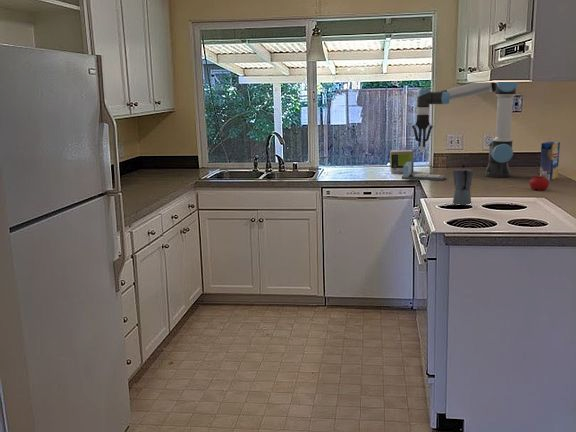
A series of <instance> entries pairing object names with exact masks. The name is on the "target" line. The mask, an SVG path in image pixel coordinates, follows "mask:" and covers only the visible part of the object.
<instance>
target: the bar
mask: <svg viewBox="0 0 576 432" xmlns="http://www.w3.org/2000/svg"><path fill="white" fill-rule="evenodd" d="M411 173H412V174H414V172H413V161H407V162H406V164H405V165H403V173H402V176H403V177H409V175H410V174H411Z"/></svg>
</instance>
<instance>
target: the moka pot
mask: <svg viewBox="0 0 576 432" xmlns="http://www.w3.org/2000/svg"><path fill="white" fill-rule="evenodd" d="M452 171H453V172H452V173H453V185H454V193H453V199H452V204H453V203H454V204H460V205H466V204H470V203H471V204H472V196H471V186H472V180H473V174H474V169H470V168H467V167H466V164H462V165H461V168H454V169H453V170H452Z"/></svg>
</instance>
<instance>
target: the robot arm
mask: <svg viewBox="0 0 576 432" xmlns="http://www.w3.org/2000/svg"><path fill="white" fill-rule="evenodd" d="M518 84H519V81H518V82H497V83H474V82H471V83H467V84H464V85H459V86H456V87H452V88H448V89H445V90H439V91H431V89H430V88H418V89H417V95H416V114H417V115H416V122H415V124H413V125H411V127H412V129H413V133H414V138H415V141H417V142H418V147H419V152H420V153H424V151H425V150H424V148H425V147H426V142H428V141H429V140H430V136H431V132H432V129H433V128H434V125H432V124H430V115H429V114H430V105H443V106H444V105H448V104H450V102H452V101H455V100H459V99H464V98H467V97H472V96H476V95H480V94H484V93H488V92H491V93H494V95H495V96H496V97H497V102H496V103H497V105H496V119H495V120H496V122H495V136H494V138H493V139H490V140H489V144H488V146H489V148H488V149H489V150H488V151H489V152H488V164H487V166H486V170H485V173H484V175H485V177H490V178H508V177H511V171H510V168H509V167H510V166H509V161H510V160H511V159H512V158H513V155H514V150H513V142H514V141H513V139H512V138H511V132H512V116H513V115H512V114H513V103H514V102H513V101H514V97H515V96H516V94H517V86H518ZM417 128H418V131H417ZM427 128H428V130H427ZM426 132H427V133H426Z"/></svg>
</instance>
